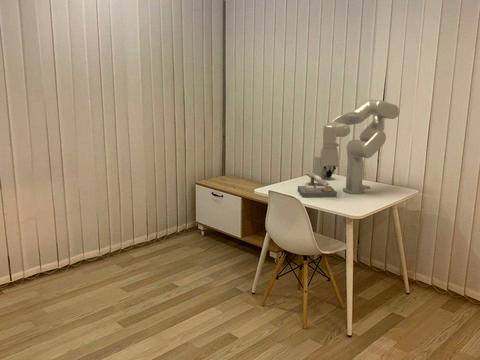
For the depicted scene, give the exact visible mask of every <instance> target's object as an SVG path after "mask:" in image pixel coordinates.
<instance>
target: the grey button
mask: <svg viewBox="0 0 480 360" xmlns="http://www.w3.org/2000/svg"><path fill="white" fill-rule="evenodd" d="M305 186H306V189H305V191H306V192H314V190H315V188H314V186H308V185H305Z"/></svg>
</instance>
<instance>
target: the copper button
mask: <svg viewBox="0 0 480 360" xmlns="http://www.w3.org/2000/svg"><path fill="white" fill-rule="evenodd" d="M322 191H323V192H331V189H330V188H322Z"/></svg>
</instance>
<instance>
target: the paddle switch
mask: <svg viewBox="0 0 480 360" xmlns="http://www.w3.org/2000/svg"><path fill="white" fill-rule="evenodd" d="M307 186H314V188H316V186H317V185H315V180H314V177H313V176H311V178H310V184H308V185H307Z"/></svg>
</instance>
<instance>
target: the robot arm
mask: <svg viewBox="0 0 480 360" xmlns="http://www.w3.org/2000/svg"><path fill="white" fill-rule="evenodd" d="M399 115H400V108H399V106H398V105H397V104H394V103H390V102H388V101H385V100H381V99H367V100H365V101H364V102H363V103H362V104H360V105H359V106H357V107H356V108H355V109H353V110H352V111H349V112H346V113H343V114H341V115H339V116H337V117H335V118H334V119H333V120H331V121H330V122H329V123H328V124H325V125H324V126H323V128H322V130H323V131H322V148H321V149H320V153H319V155H320V168H324V169H325V170H326V176H327V177H328V178H327V179H329V178H330V179H331V178H332V176H333V174H332V171H333V169H334V168H336V169H337V168H339V163H340V162H339V151H338V147H340V145H339V143H337V137H338V138H339V137H340V138H344V137H347V136H349V134H350V132H351V128H350V126H351V125H352V126H353V125H358V124H361V123H362V122H364V121H365V120H366V119H368V118H369V117H370V116H372V121H371V122H370V123H369V125H367V127H366V128H364V130H362V131H361V133H360V135H359V139H351V140H349V141H348V142H347V145H346V154H347V155H346V156H347V161H346V162H347V163H346V164H347V165H346V178H345V179H346V180H345V187H343V189H342V191H343V192H344V193H346V194H347V193H348V194H353V195H354V194H356V195H357V194H358V195H359V194H364V193H365V190H370V188H371V186H370V185H366V184H365V185H364V184H363V178H364V177H363V176H364V165H365V164H364V159H370V158H372V157H373V156H374V155H375V154H376V153H377V152H378V151H379V150H380V149H381V148H382V147H383V146H384V145H385V142H386V139H387V135H386V132H385V131H384V129H385V119H389V120H394V119H396V118H398V117H399ZM328 166H330V169H328Z"/></svg>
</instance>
